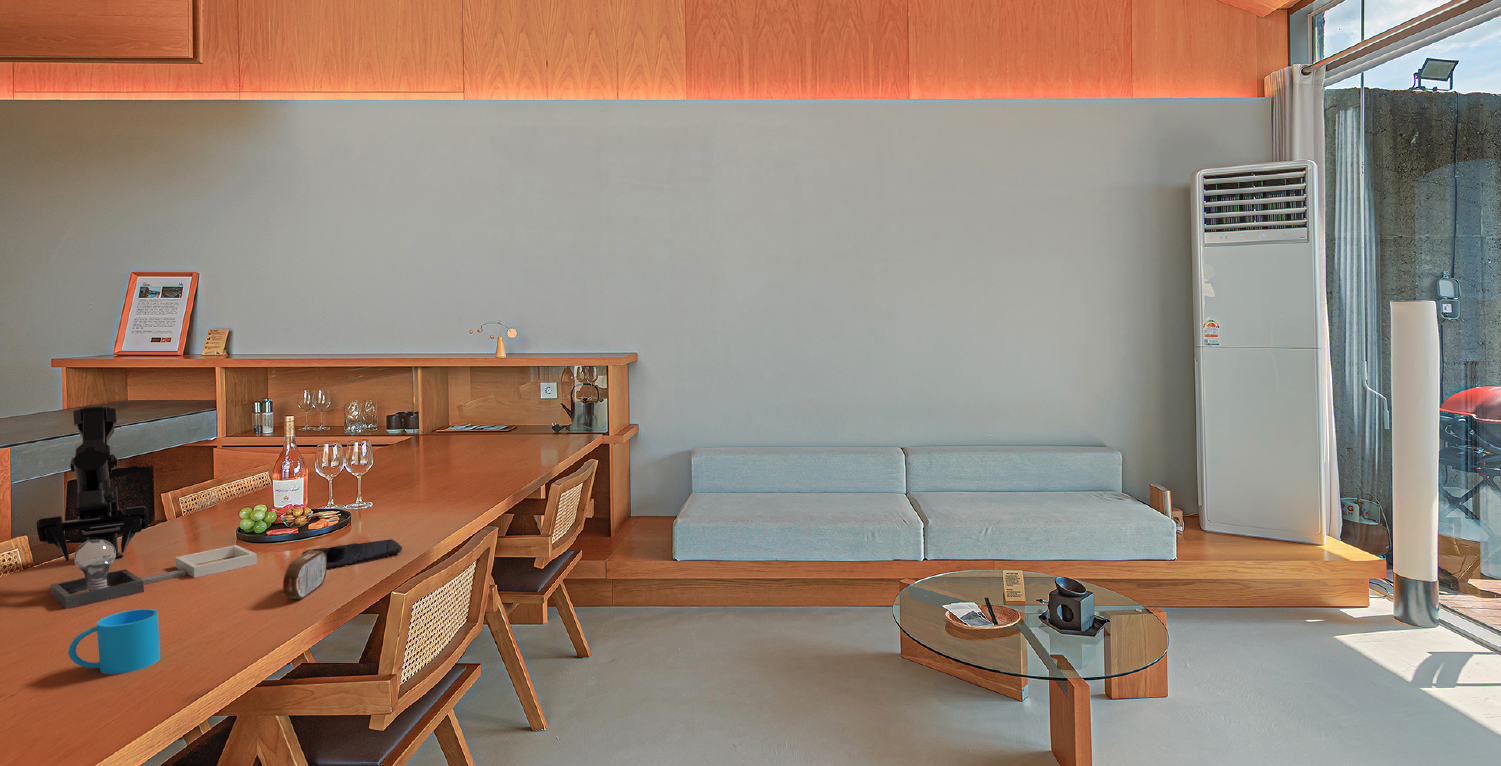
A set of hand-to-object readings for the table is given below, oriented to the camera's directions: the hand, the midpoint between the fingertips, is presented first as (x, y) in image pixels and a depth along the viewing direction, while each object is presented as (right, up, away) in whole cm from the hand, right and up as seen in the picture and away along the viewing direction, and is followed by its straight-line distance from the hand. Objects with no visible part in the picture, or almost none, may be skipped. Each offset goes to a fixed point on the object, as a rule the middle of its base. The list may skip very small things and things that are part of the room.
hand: (95, 555), depth 169 cm
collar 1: (0, -8, 0) cm, 8 cm away
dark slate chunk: (+43, -7, +26) cm, 50 cm away
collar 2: (+13, -7, +20) cm, 24 cm away
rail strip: (+7, -8, +10) cm, 14 cm away
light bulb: (0, -9, 0) cm, 8 cm away
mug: (+34, -11, -36) cm, 51 cm away
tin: (+46, -8, 0) cm, 47 cm away
